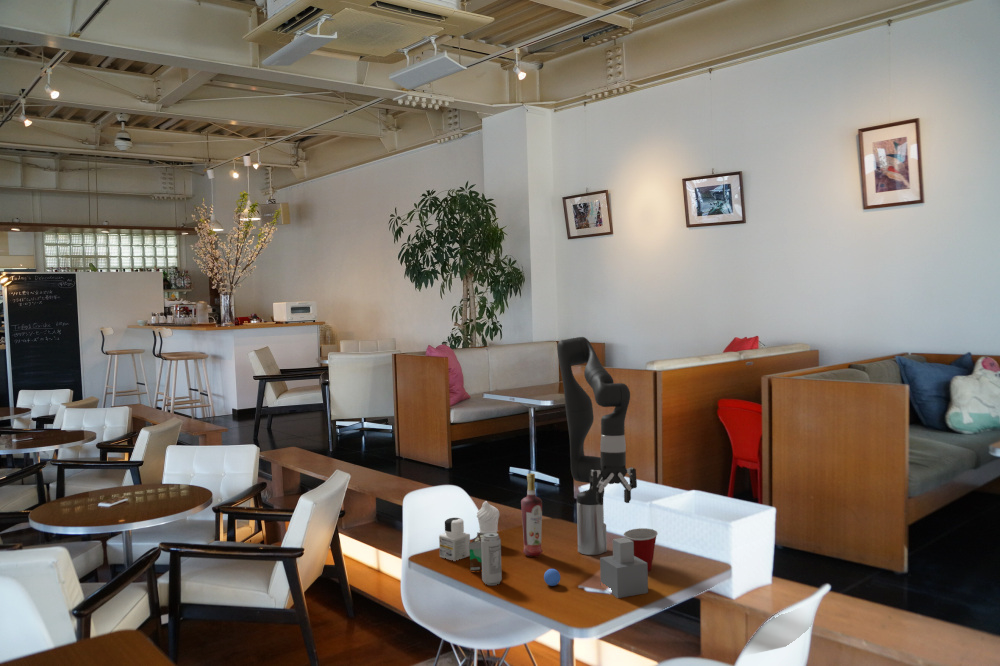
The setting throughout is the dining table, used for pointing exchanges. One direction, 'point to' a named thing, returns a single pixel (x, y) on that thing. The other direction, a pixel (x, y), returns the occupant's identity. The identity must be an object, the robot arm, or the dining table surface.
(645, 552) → the plastic cup
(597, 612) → the dining table surface
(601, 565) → the grey stepped block
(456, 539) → the container
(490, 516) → the soft serve ice cream cone
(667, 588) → the dining table surface
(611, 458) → the robot arm
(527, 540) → the liquor
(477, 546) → the food container
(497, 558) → the energy drink can
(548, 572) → the ball
